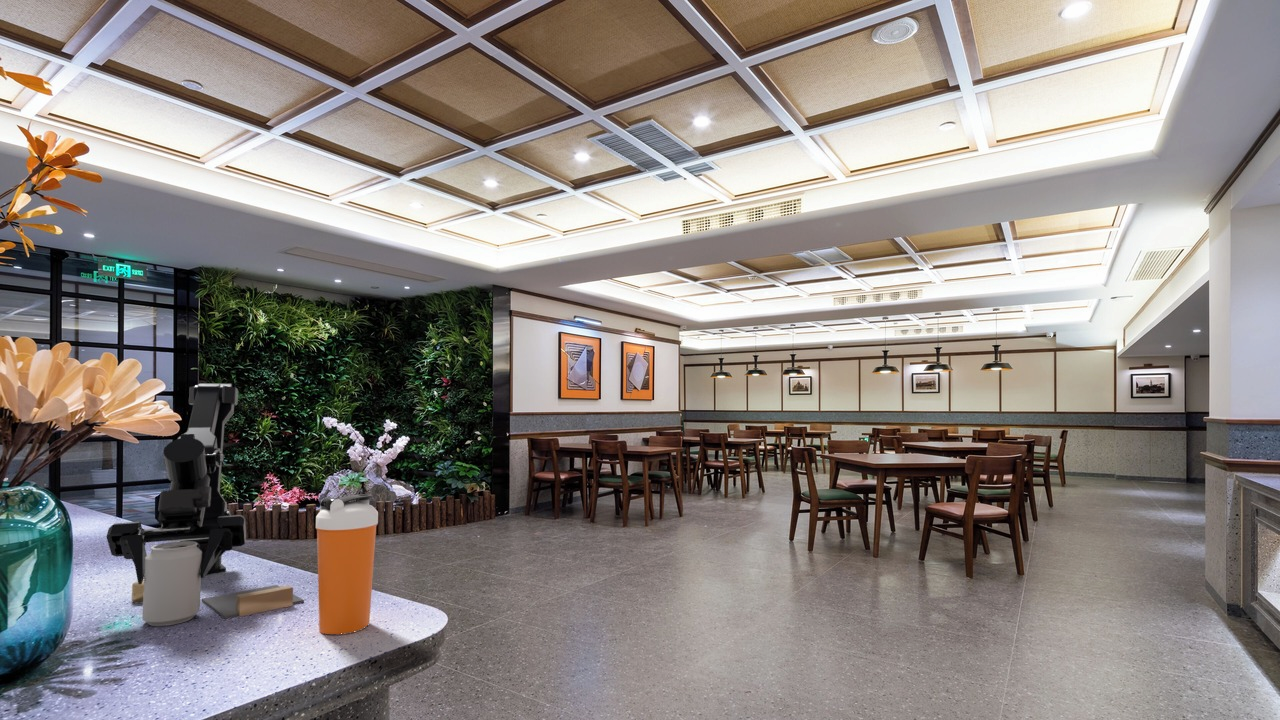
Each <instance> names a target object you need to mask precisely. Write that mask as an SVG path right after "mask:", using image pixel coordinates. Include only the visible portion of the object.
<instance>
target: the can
mask: <svg viewBox="0 0 1280 720" xmlns="http://www.w3.org/2000/svg"><path fill="white" fill-rule="evenodd" d="M197 544H198V543H197V542H194V541H170V542H169V541H168V542H163V543H159V544H155V545H153V546H151V547H150V552H149V553H148V554H147V556H146V557H145V573H144V579H143V580H144V594H143V603H142V616H141V617H142V621H143V622H145V623H147V624H148V625H149V626H153V627H154V626H155V627H164V626H173V625H178V624H182V623H185V622H188V621H189V620H192V619H193V618H194V616H196V615H197V614H198V613H199V612H200V607H201V606H200V604H201V587H202V586H201V584H202V583H201V582H202V578H201V576H200V574H201V564H202V551H201V550H200V549H199V548H198V547H197Z"/></svg>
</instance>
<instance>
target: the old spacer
mask: <svg viewBox="0 0 1280 720" xmlns="http://www.w3.org/2000/svg"><path fill="white" fill-rule="evenodd" d="M131 585H132V586H131V602H132V601H133V602H132V603H134V602H143V594H144V579H143V582H142V584H138V581H136V582H133V583H132V584H131Z"/></svg>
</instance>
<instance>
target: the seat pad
mask: <svg viewBox="0 0 1280 720" xmlns="http://www.w3.org/2000/svg"><path fill="white" fill-rule="evenodd" d="M278 587H280V586H279V585H277V584H275V585H274V584H273V585H269V586H263V587H258V588H251V589H247V590H246V589H245V590H241V591H237V592H236V591H235V592H232V593H225V594H220V595H215V596H209V597H202V598H201V602H202V603H204V605H206V606H208V607H209V608H210V609H211V610H213V611H214V612H216V613H217V614H218V615H219V616H221V617H222V618H223V619H225V620H226V619H231V618H235V617H240V616H239V613H238V612H236V602H237V595H241V594H246V593H251V592H256V591H262V590H267V589H272V588H278ZM300 602H303V603H304V602H305V600H304V599H303V598H301V597H299V596H297V595H296V594H294V593H293V605H298V604H301V603H300Z"/></svg>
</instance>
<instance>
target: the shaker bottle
mask: <svg viewBox="0 0 1280 720" xmlns="http://www.w3.org/2000/svg"><path fill="white" fill-rule="evenodd" d="M372 497H374V495H373V494H372V493H371V494H369V493H364V494H363V493H360V494H359V493H358V494H351V495H345V496H342V497H341V496H340V497H338V498H336V497H330V496H325V497H323V498H322V499H321V500H320V505H319V507H320V509H319V512H318V513H317V515H316V516H315V529H316V531H317V532H316V533H317V534H316V535H317V537H316V539H317V575H318V576H317V577H318V578H317V582H318V584H317V585H318V628H319V629H318V630H319V632H320V633H321V634H323V635H326V634H341V633H342V634H343V635H345V634H344V633H350V632H354V631H358V630H360V629H363V628H364V627H366V626H367V625H368V624H369V625H370V618H371V616H370V615H371V606H372V591H373V589H372V588H373V580H374V579H373V578H374V577H373V576H374V562H375V549H376V548H375V547H376V535H377V526H378V524H379V512H378V510H377V509H376V507H374V506H373V505H372V504H370V499H371V498H372ZM355 500H356V501H355ZM369 625H368V626H369ZM366 628H367V627H366ZM363 630H364V629H363ZM358 632H359V631H358ZM324 633H325V634H324ZM354 633H355V632H354ZM350 634H351V633H350Z"/></svg>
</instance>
